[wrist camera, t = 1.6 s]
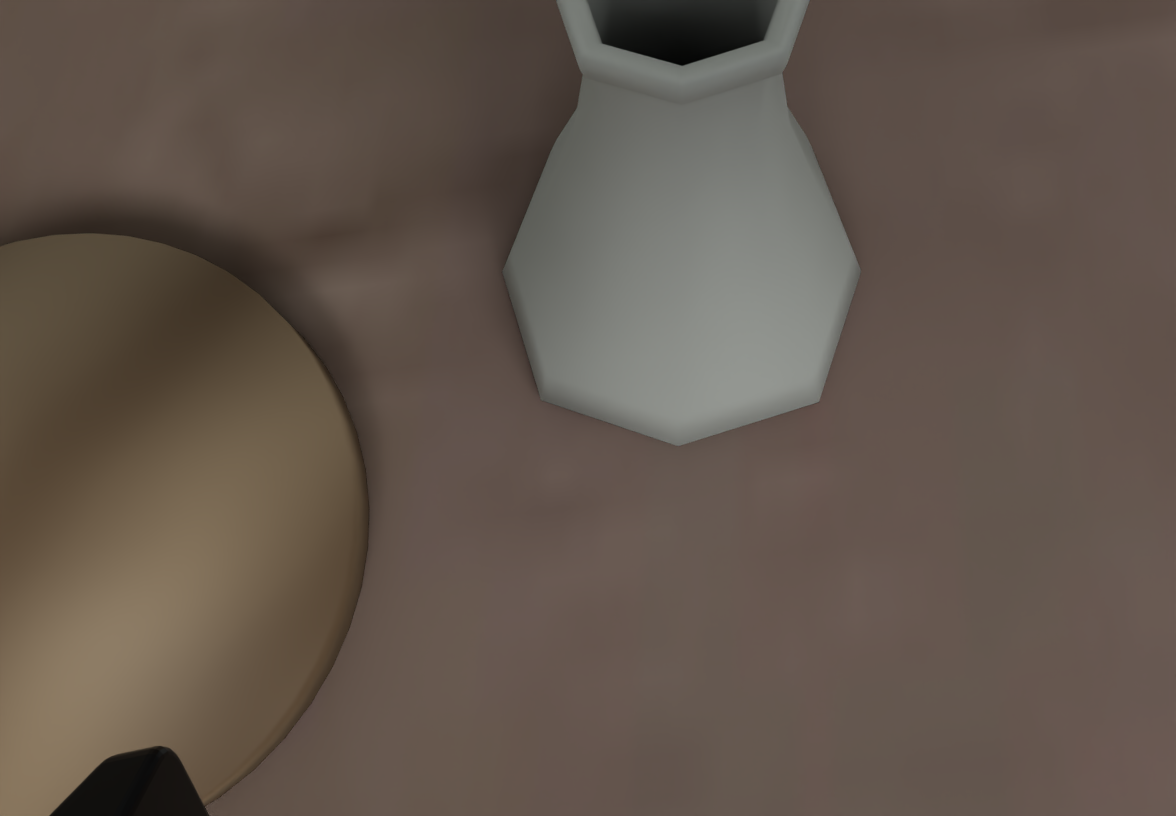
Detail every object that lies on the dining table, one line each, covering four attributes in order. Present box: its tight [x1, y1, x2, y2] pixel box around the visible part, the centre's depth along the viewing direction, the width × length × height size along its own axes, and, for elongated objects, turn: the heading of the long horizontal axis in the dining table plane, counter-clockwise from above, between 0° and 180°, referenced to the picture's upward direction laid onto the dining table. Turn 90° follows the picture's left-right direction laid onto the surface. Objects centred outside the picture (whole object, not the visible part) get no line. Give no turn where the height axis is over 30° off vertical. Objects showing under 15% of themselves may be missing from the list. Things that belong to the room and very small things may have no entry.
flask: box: [502, 0, 861, 446], centre depth 18 cm, size 7×7×10 cm
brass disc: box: [0, 233, 369, 816], centre depth 22 cm, size 12×12×1 cm
